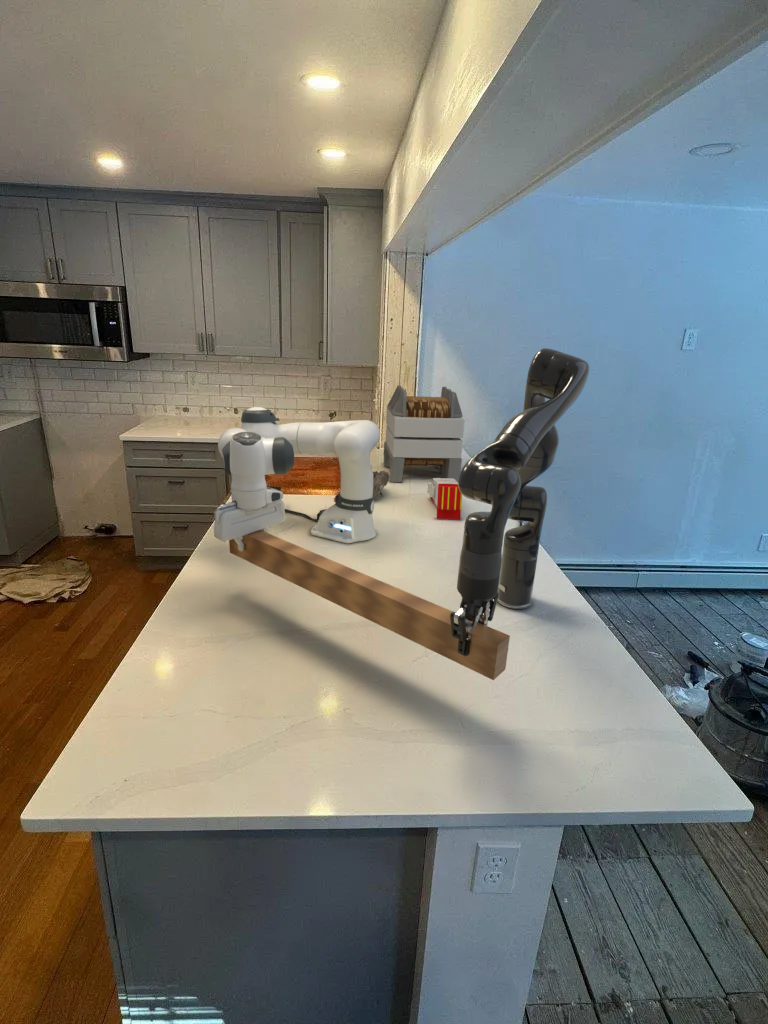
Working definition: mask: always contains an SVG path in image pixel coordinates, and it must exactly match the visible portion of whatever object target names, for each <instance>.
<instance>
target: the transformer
mask: <svg viewBox="0 0 768 1024" xmlns="http://www.w3.org/2000/svg"><path fill="white" fill-rule="evenodd" d="M440 393H441V394H440V396H415V395H414V396H413V395H412V396H411V395H407V394H408V393H407V390H406V389H404V388H403V387H402V385H399V384H398V385H397V386H396V388H395V390H394V392H393V394H392V395H391V398H390V400H389V402H388V404H387V405H386V413H385V414H386V415H385V423H386V428H385V438H384V442H383V466H384V467H388V468H389V474H388V475H389V481H390V482H391V483H402V482H403V475H404V469H405V466H406V467H407V466H411V467H412V466H413V467H415V466H416V467H417V466H418V467H436V468H437V470H438V469H439V473H440V474H441V475H443V478H454V479H455V480H456V481H457V482H458V478H459V475H460V472H461V470H462V461H463V460H462V453H463V442H464V441H463V440H462V439H463V438H464V431H465V430H464V429H465V419H464V418H463V411H462V408H461V405H460V402H459V398H458V395H457V392H455V391H453V390H452V389H451V388H447V386H442V387H441V392H440Z"/></svg>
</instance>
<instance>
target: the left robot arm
mask: <svg viewBox="0 0 768 1024" xmlns="http://www.w3.org/2000/svg"><path fill="white" fill-rule="evenodd" d="M280 420H281V419H280V418H279V417H277V416H276V415H275V414H274V412H272V411H271V410H270V409H269V408H265V407H262V406H252V407H249V408H248V409H245V410H243V411H242V413H241V418H240V423H241V428H240V427H230V428H228V429H226V430H224V431H223V432H222V433H221V434H220V436H219V438H218V441H217V449H218V453H219V455H220V457H221V458H222V459H223V466H222V467H223V468H222V470H223V471H224V472H225V473H226V474H228V475H229V476H230V477H231V483H230V493H229V494H230V495H231V501H229V502H226V503H223V504H219V505H218V507H217V508H216V509H215V510H214V513H213V515H214V522H213V536H214V537H215V538H216V539H217V540H219V541H221V542H223V543H224V542H225V543H226V542H229V540H232V539H234V540H235V541H236V543H237V544H238V550H239V551H244V550H246V549H247V548H246V544H245V543H243V542H242V541H241V540H242V539H243V536H244V535H247V534H250V533H253V532H256V531H259V530H261V531H264V532H266V533H268V532H269V528H271V527H274V526H277V525H280V524H282V523H283V522H284V521H285V518H286V513H290V514H294V515H298V516H302V517H305V518H306V519H308V520H310V521H312V522H317V523H315V524H314V525H313V526H312V528H311V530H310V533H311V536H315V537H319V538H323V539H326V540H330V541H336V542H339V543H343V544H352V543H357V542H365V541H368V540H372V539H373V538H375V537H376V535H377V532H376V528H375V523H374V513H373V512H374V509H375V497H374V496H373V472H374V471H373V470H372V469H373V468H372V464H371V452H372V451H373V450H374V449H376V447H377V446H378V445H379V441H380V438H381V431H380V428H379V427H378V425H377V424H376V423H375V422H374V421H372V420H367V419H356V420H338V421H327V422H326V421H325V422H320V421H319V422H316V421H315V422H314V421H313V422H308V421H306V422H305V421H303V422H302V421H301V422H300V421H298V422H297V421H296V422H288V423H282V424H278V423H277V422H278V421H279V422H280ZM296 455H297V456H323V457H324V456H325V457H326V456H331V455H336V456H337V462H338V465H339V473H340V488H339V489H340V490H339V491H338V492H337V494H336V495H335V496H334V497H333V502H334V504H333V505H331V506H329V507H328V508H325V509H321V510H319V512H317V515H316V518H315V519H314V518H312V517H311V516H310V515H308V514H306V513H303V512H299V511H294V510H291V509H287V508H285V502H284V500H283V499H284V492H282V491H281V490H280V491H279V490H276V489H273V488H270V487H267V486H268V485H267V481H266V476H267V475H268V476H269V475H275V476H277V475H282V476H285V475H287V474H288V473H289V472H290V471H291V470H292V469H293V468H294V465H295V459H296V458H295V456H296Z"/></svg>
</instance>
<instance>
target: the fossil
mask: <svg viewBox="0 0 768 1024" xmlns="http://www.w3.org/2000/svg"><path fill="white" fill-rule="evenodd" d="M372 472H373V496H374V498H376V496H377V495H378V494H380V495H381V496H383V493H382V491H383V489H384V488H385V487H387V485H388V482H389V481H390V478H389V475H390V474H389V472H387V471H385V470H380V471H379V472H378V471H377V470H376V471H372Z"/></svg>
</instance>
